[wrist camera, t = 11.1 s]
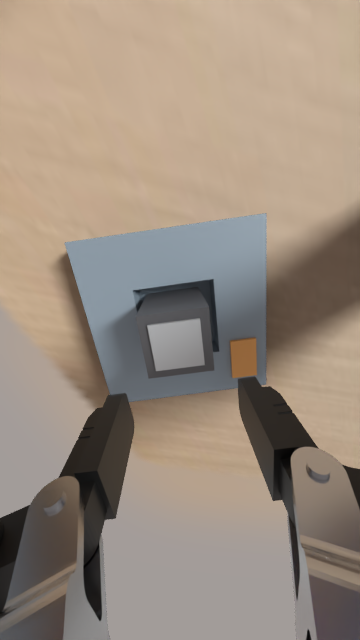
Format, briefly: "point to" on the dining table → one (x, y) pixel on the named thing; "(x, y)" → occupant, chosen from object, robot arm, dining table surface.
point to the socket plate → (172, 274)
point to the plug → (175, 333)
